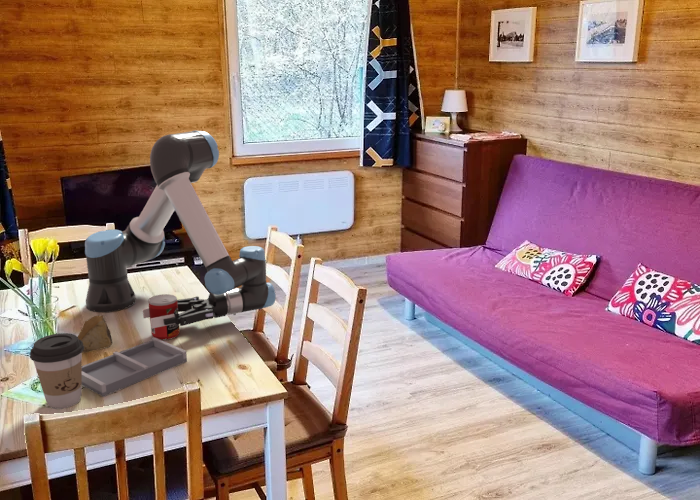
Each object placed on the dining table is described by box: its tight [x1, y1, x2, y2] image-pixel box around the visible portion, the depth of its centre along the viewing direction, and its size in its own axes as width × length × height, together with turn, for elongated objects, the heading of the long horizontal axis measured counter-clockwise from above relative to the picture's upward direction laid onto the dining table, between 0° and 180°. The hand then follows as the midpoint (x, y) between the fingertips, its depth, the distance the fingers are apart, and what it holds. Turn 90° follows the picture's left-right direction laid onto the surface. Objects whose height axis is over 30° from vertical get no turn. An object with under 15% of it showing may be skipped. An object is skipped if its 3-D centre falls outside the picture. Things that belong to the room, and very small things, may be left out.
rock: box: [76, 315, 113, 354], centre depth 177 cm, size 11×9×10 cm
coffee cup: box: [29, 332, 84, 410], centre depth 148 cm, size 11×11×15 cm
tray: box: [82, 337, 188, 398], centre depth 165 cm, size 14×24×3 cm, turn 141°
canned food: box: [147, 293, 180, 341], centre depth 185 cm, size 8×8×11 cm
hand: (147, 318), depth 183 cm, fingers closed on canned food, 8 cm apart
